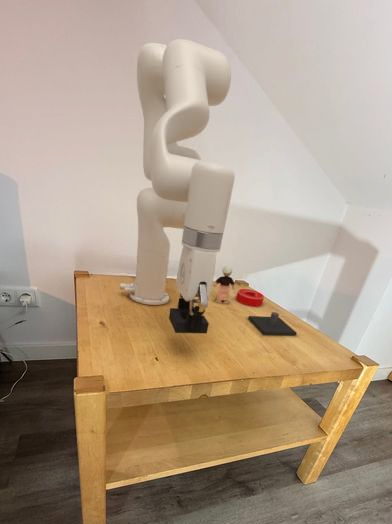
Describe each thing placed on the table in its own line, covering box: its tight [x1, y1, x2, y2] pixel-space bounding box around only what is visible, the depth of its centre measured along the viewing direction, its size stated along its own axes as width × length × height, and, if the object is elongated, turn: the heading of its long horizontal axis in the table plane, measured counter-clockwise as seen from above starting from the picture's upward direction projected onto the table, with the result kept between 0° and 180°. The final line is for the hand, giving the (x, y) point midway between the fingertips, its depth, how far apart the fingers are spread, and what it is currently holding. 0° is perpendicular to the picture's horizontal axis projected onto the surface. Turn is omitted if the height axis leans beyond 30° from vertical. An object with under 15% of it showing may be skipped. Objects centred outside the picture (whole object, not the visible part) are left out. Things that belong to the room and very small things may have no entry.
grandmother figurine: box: [212, 265, 236, 305], centre depth 101 cm, size 8×4×13 cm, turn 111°
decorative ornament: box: [235, 288, 265, 307], centre depth 109 cm, size 10×10×3 cm
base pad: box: [247, 311, 297, 336], centre depth 91 cm, size 11×11×4 cm
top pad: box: [168, 307, 210, 334], centre depth 65 cm, size 7×7×2 cm
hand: (187, 322), depth 65 cm, fingers closed on top pad, 7 cm apart
